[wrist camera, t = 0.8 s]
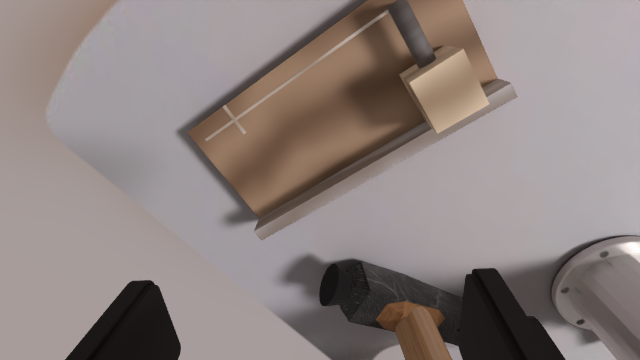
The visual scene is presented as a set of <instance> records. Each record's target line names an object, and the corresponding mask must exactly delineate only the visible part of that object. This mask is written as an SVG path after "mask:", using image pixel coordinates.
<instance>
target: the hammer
mask: <svg viewBox="0 0 640 360" xmlns="http://www.w3.org/2000/svg"><path fill="white" fill-rule="evenodd" d="M319 296H320V303H321V304H322V306H331V305H340V308H341V310H342V311H343V313H344V314H345V316H346V317H347V319H348V321H349V322H352V323H357V324H361V325H366V326H371V327H376V328H380V329H385V330H390V331H394V332H396V335H397V337H398V340H399V343H400V346H401V349H402V351H403V354H404V357H405V360H452V358H451V356H450V354H449V352H448V350H447V348H446V346H445V344H444V342H447V343H451V344H454V345H457V346H459V342H458V339H459V330H460V321H461V312H462V304H463V298H461V297H458V296H456V295H453V294H450V293H448V292H445V291H443V290H440V289H438V288H435V287H433V286H431V285H428V284H426V283H423V282H421V281H419V280H416V279H414V278H411V277H409V276H407V275H404V274H401V273H398V272H394V271H391V270H388V269H384V268H381V267H378V266H375V265H371V264H368V263H365V262H360V263H359V264H357V265H356V266H354V267H352V268H350V269H349V270H348V272H346V271H345V270H343V269H342V268H340V267H339V266H337V265H336V264H332V265H331V266H329V268H328V269H327V270H326V272H325V274H324V276H323V279H322V282H321V286H320V294H319Z"/></svg>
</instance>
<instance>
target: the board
mask: <svg viewBox="0 0 640 360" xmlns="http://www.w3.org/2000/svg"><path fill="white" fill-rule="evenodd" d="M395 1H397V0H367V1H366V2H364V3H363V4H362V5H360V6H359V7H358V8H356V9H355V10H354V11H352V12H351V13H350V14H348V15H347V16H345V17H344V18H343V19H341V20H340V21H339V22H337V23H336V24H335V25H333V26H332V27H330V28H329V29H328V30H326V31H325V32H324V33H322V34H321V35H320V36H318V37H317V38H315V39H314V40H313V41H311V42H310V43H309V44H307V45H306V46H305V47H303V48H302V49H300V50H299V51H298V52H296V53H295V54H294V55H292V56H291V57H290V58H288V59H287V60H285V61H284V62H283V63H281V64H280V65H279V66H277V67H276V68H275V69H273V70H272V71H270V72H269V73H268V74H266V75H265V76H264V77H262V78H261V79H260V80H258V81H257V82H256V83H254V84H253V85H251V86H250V87H249V88H247V89H246V90H245V91H243V92H242V93H241V94H239V95H238V96H236V97H235V98H234V99H232V100H231V101H230V102H228V103H227V104H226V105H224V106H223V107H221V108H220V109H219V110H217V111H216V112H215V113H213V114H212V115H211V116H209V117H208V118H206V119H205V120H204V121H202V122H201V123H200V124H198V125H197V126H196V127H194V128H193V129H191V130H190V131H189V132H187V133H188V134H189V136H190V137H191V138H192V139H193V140H194V141H195V143H196V144H197V145H198V146H199V147H200V149H201V150H202V151H203V152H204V153H205V155H206V156H207V157H208V158H209V159H210V160H211V162H212V163H213V164H214V165H215V166H216V168H217V169H218V170H219V171H220V172H221V174H222V175H223V176H224V177H225V178H226V179H227V181H228V182H229V183H230V184H231V185H232V187H233V188H234V189H235V190H236V191H237V192H238V194H239V195H240V196H241V197H242V198H243V200H244V201H245V202H246V203H247V204H248V206H249V207H250V208H251V209H252V210H253V211H254V213H255V214H256V215H257V216H258V217H259V221H258V223H257V225H256V228H255V230H254V232H255V233H256V235H257V236H258V237H259V238H260V239H261V240H263V239H265V238H267V237H269V236H270V235H272V234H274V233H276V232H277V231H279V230H281V229H283V228H285V227H286V226H288V225H290V224H292V223H293V222H295V221H297V220H299V219H301V218H302V217H304V216H306V215H308V214H309V213H311V212H313V211H315V210H316V209H318V208H320V207H322V206H324V205H325V204H327V203H329V202H331V201H332V200H334V199H336V198H338V197H340V196H341V195H343V194H345V193H347V192H348V191H350V190H352V189H354V188H356V187H357V186H359V185H361V184H363V183H364V182H366V181H368V180H370V179H372V178H373V177H375V176H377V175H379V174H380V173H382V172H384V171H386V170H388V169H389V168H391V167H393V166H395V165H396V164H398V163H400V162H402V161H404V160H405V159H407V158H409V157H411V156H412V155H414V154H416V153H418V152H420V151H421V150H423V149H425V148H427V147H428V146H430V145H432V144H434V143H436V142H437V141H439V140H441V139H443V138H444V137H446V136H448V135H450V134H452V133H453V132H455V131H457V130H459V129H460V128H462V127H464V126H466V125H468V124H469V123H471V122H473V121H475V120H476V119H478V118H480V117H482V116H484V115H485V114H487V113H489V112H491V111H492V110H494V109H496V108H498V107H500V106H501V105H503V104H505V103H507V102H508V101H510V100H512V99H514V98H516V97H517V95H516V93H515V90H514V88H513V86H512V83H510V82H507V81H504V80H500V79H498V78H497V76H496V74H495V72H494V69H493V67H492V65H491V63H490V61H489V58H488V56H487V54H486V52H485V49H484V47H483V45H482V43H481V40H480V38H479V36H478V34H477V32H476V29H475V27H474V25H473V23H472V20H471V18H470V16H469V14H468V11H467V9H466V7H465V5H464V3H463V0H408V2H409V4H410V6H411V8H412V10H413V12H414V14H415V16H416V18H417V20H418V22H419V24H420V26H421V28H422V30H423V32H424V34H425V36H426V38H427V40H428V42H429V44H430V46H431V48H432V50H433V52H435V51H436V50H438V49H440V48H441V47H443V46H450V47H456V48H462V49H464V51H465V53H466V55H467V57H468V59H469V62H470V64H471V66H472V68H473V70H474V72H475V74H476V76H477V79H478V81H479V83H480V85H481V87H482V89H483V91H484V93H485V96H486V98H487V100H488V102H489V105H487V106H485V107H484V108H482V109H480V110H478V111H477V112H475V113H473V114H471V115H470V116H468V117H466V118H464V119H463V120H461V121H459V122H457V123H456V124H454V125H452V126H450V127H448V128H447V129H445V130H443V131H441V132H440V133H438V134H437V133H436V132H435V131H434V130H433V129H432V127H431V126H430V125H429V124H428V123H427V122H426V121H425V120H424V119H423V117H422V115H421V113H420V112H419V110H418V108H417V106H416V104H415V103H414V101H413V99H412V97H411V95H410V94H409V92H408V90H407V88H406V86H405V85H404V83H403V81H402V79H401V77H400V76H399V74H401V73H402V72H404V71H405V70H407V69H408V68H410V67H412V66H413V65H415V64H416V62H415V60H414V58H413V56H412V55H411V53H410V51H409V49H408V47H407V45H406V43H405V41H404V39H403V38H402V36H401V34H400V32H399V30H398V28H397V26H396V24H395V22H394V21H393V19H392V17H391V15H390V13H389V11H388V9H387V7H388V6H390V5H391V3H393V2H395Z"/></svg>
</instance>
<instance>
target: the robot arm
mask: <svg viewBox="0 0 640 360" xmlns="http://www.w3.org/2000/svg"><path fill="white" fill-rule="evenodd" d="M552 300H553V303H554V306H555V307H556V309H557V310H558V312H559V313H560V314H561V316H562V317H563V318H564V319H565V320H566V321H568V322H569V323H571V324H572V325H575V326H577V327H580V328H583V329H588V330H593V332H594V333H595V334H596V335H597V336H598V338H599V339H600V340H601V341H602V342H603V344H604V345H605V346H606V347H607V348H608V350H609V351H610V352H611V353H612V354H613V356H614V357H615V358H616V359H617V360H640V237H638V236H627V237H617V238H613V239H609V240H605V241H602V242H599V243H597V244H594V245H592V246H590V247H588V248H586V249H584V250H582V251H581V252H579V253H578V254H576V255H575V256H574V257H572V258H571V259H570V260H569V261H568V262H567V263H566V264H565V265H564V266H563V267H562V269H561V270H560V271H559V273H558V274H557V276H556V278H555V280H554V282H553V286H552ZM458 342H459V349H460V353H461V356H462V358H463V360H565V358H564V357H563V355H562V354H561V352H560V351H559V349H558V348H557V346H556V345H555V343H554V342H553V341H552V339H551V338H550V336H549V335H548V333H547V332H546V330H545V329H544V327H543V326H542V324H541V323H540V322H539V321H538V320H537V319H536V318H535V317H533V316H526V314H525V313H524V311H523V310H522V308H521V307H520V305H519V303H518V302H517V300H516V299H515V297H514V296H513V294H512V293H511V291H510V290H509V288H508V286H507V285H506V283H505V282H504V280H503V279H502V277H501V276H500V274H499V273H498V271H497V270H496V269H494V268H487V269H473V270H472V274H467V275H466V278H465V286H464V295H463V304H462V312H461V321H460V330H459V339H458ZM180 350H181V346H180V342H179V340H178V337H177V334H176V331H175V329H174V326H173V323H172V321H171V318H170V315H169V313H168V310H167V307H166V305H165V302H164V299H163V297H162V294H161V291H160V289H159V287H158V286H157V285H155V284H154V283H153V282H152V281H150V280H144V281H131V282H130V283H129V284H127V286H126V287H125V288H124V289H123V290H122V292H121V293H120V294H119V296H117V298H116V299H115V300H114V301H113V302H112V304H111V305H110V306H109V308H108V309H107V310H106V311H105V312H104V313H103V315H102V316H101V317H100V318H99V319H98V321H97V322H96V323H95V324H94V325H93V327H92V328H91V329H90V330H89V332H88V333H87V334H86V335H85V337H84V338H83V339H82V340H81V341H80V342H79V344H78V345H77V346H76V347H75V349H74V350H73V351H72V352H71V353H70V355H69V356H68V357H67V358H66V359H65V360H178V358H179V355H180Z"/></svg>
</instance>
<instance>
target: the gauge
mask: <svg viewBox="0 0 640 360" xmlns="http://www.w3.org/2000/svg"><path fill="white" fill-rule="evenodd" d="M387 9H388V11H389V13H390V15H391V17H392V19H393V21H394V22H395V24H396V26H397V28H398V30H399V32H400V34H401V36H402V38H403V39H404V41H405V43H406V45H407V47H408V49H409V51H410V53H411V55H412V56H413V58H414V60H415V62H416V64H415V65H413V66H412V67H410V68H408V69H407V70H405V71H404V72H402V73H401V74H399V76H400V77H401V79H402V81H403V83H404V85H405V86H406V88H407V90H408V92H409V94H410V95H411V97H412V99H413V101H414V103H415V104H416V106H417V108H418V110H419V112H420V113H421V115H422V117H423V119H424V120H425V121H426V122H427V123H428V124H429V125H430V126H431V127H432V129H433V130H434V131H435V132H436V133H437V134H438V133H440V132H441V131H443V130H445V129H447V128H448V127H450V126H452V125H454V124H456V123H457V122H459V121H461V120H463V119H464V118H466V117H468V116H470V115H471V114H473V113H475V112H477V111H478V110H480V109H482V108H484V107H485V106H487V105H489V102H488V100H487V98H486V96H485V93H484V91H483V89H482V87H481V85H480V83H479V81H478V79H477V76H476V74H475V72H474V70H473V68H472V66H471V64H470V62H469V59H468V57H467V55H466V53H465V51H464V49H462V48H456V47H450V46H443V47H441V48H440V49H438V50H436V51H435V52H433V50H432V48H431V46H430V44H429V42H428V40H427V38H426V36H425V34H424V32H423V30H422V28H421V26H420V24H419V22H418V20H417V18H416V16H415V14H414V12H413V10H412V8H411V6H410V4H409V2H408V0H397V1H395V2H393V3H391V5H390V6H388V7H387Z"/></svg>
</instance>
